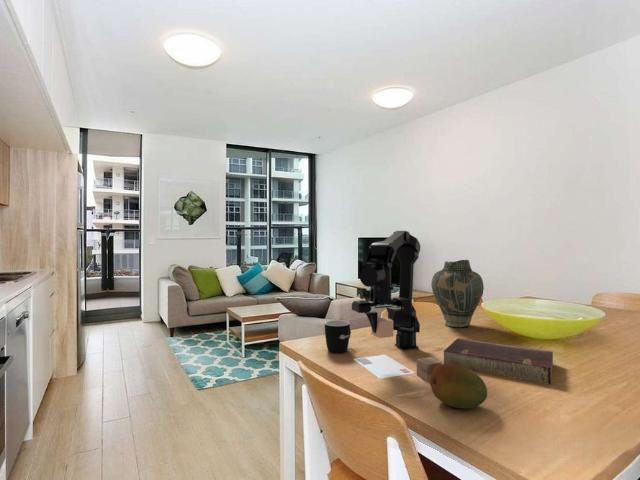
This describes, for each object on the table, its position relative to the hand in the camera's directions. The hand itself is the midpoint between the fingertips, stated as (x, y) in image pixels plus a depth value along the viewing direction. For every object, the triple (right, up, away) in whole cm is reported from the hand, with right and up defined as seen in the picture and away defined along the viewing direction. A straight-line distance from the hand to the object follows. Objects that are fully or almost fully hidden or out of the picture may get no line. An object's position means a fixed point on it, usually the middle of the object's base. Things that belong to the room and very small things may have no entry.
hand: (382, 332), depth 117 cm
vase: (+42, -10, +51) cm, 67 cm away
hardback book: (+37, -11, +1) cm, 39 cm away
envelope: (0, -11, 0) cm, 11 cm away
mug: (-12, -11, +17) cm, 24 cm away
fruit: (+14, -12, -26) cm, 32 cm away
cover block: (0, -1, 0) cm, 1 cm away
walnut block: (+12, -11, -9) cm, 19 cm away
